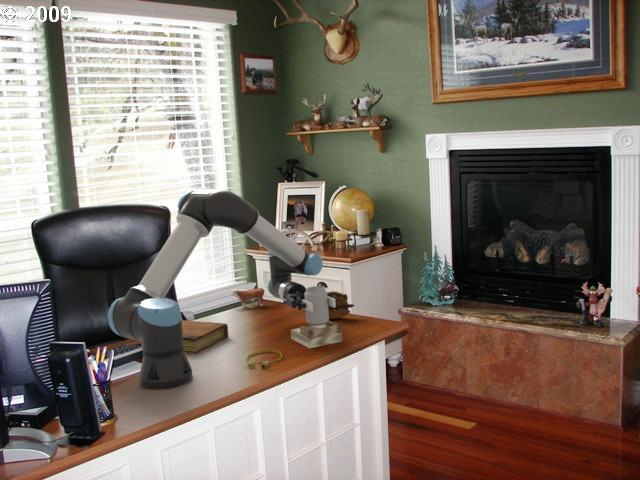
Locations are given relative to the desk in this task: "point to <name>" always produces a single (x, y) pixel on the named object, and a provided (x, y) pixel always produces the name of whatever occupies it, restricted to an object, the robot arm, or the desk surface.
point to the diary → (202, 335)
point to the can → (317, 305)
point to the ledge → (317, 335)
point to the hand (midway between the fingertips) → (323, 305)
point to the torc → (264, 364)
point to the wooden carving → (339, 305)
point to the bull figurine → (249, 295)
